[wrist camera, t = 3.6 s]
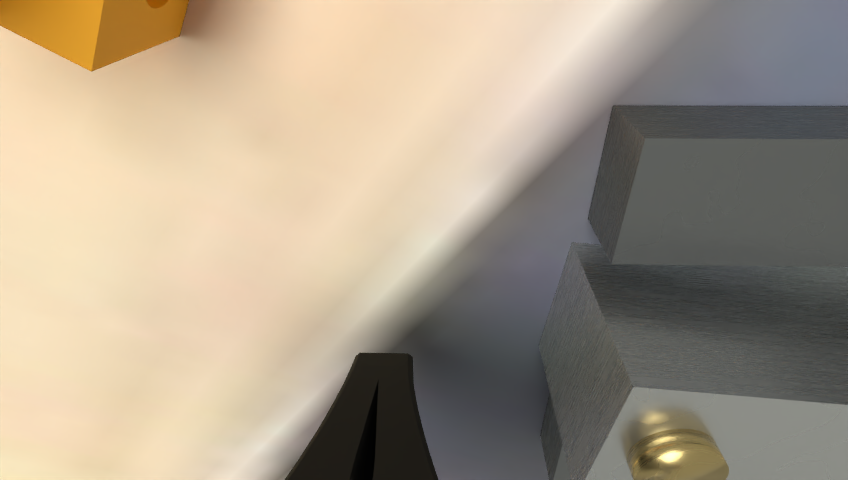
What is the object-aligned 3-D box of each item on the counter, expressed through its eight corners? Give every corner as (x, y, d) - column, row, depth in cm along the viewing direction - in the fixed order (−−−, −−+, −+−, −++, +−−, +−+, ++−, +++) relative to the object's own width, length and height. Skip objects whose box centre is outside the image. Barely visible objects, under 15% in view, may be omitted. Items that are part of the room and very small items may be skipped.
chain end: (867, 442, 17) (1000, 601, 13) (540, 435, 17) (571, 588, 13) (1163, 107, 10) (1646, 223, 6) (612, 105, 11) (722, 215, 6)
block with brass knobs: (837, 367, 15) (1007, 553, 11) (537, 341, 15) (581, 520, 10) (920, 271, 13) (1179, 454, 8) (570, 238, 13) (642, 409, 8)
